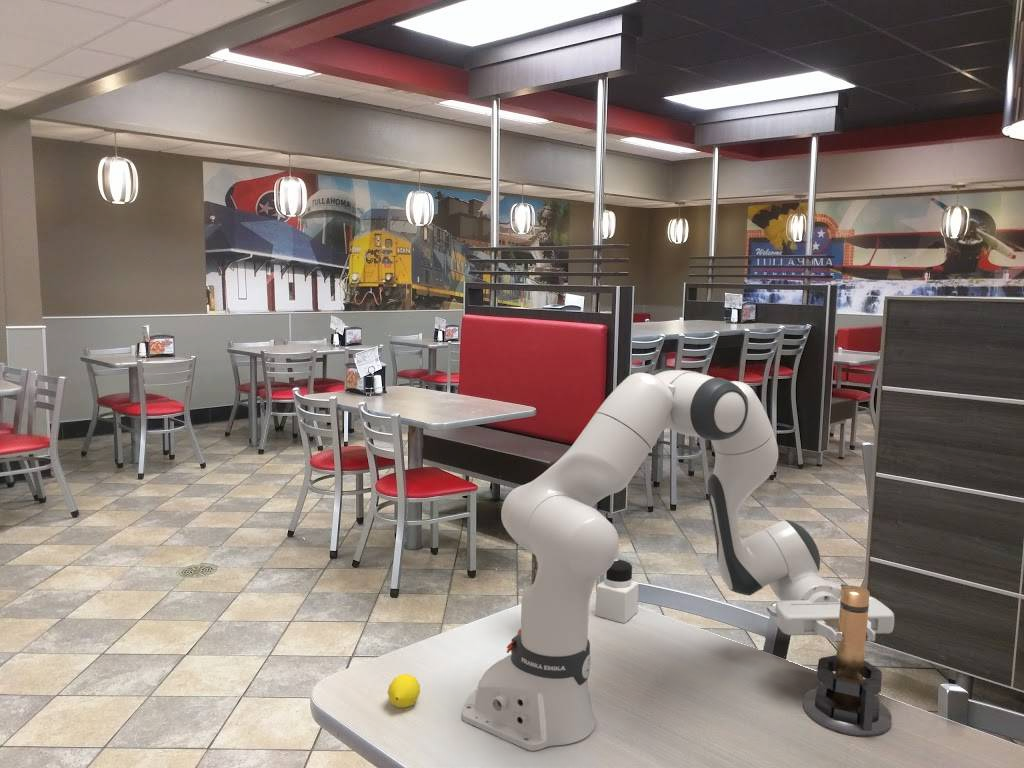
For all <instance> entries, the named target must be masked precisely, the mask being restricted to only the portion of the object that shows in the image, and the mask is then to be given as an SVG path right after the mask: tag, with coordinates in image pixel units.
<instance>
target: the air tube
mask: <svg viewBox="0 0 1024 768" xmlns="http://www.w3.org/2000/svg"><path fill="white" fill-rule="evenodd" d="M869 596H871V595H870V591H869V590H868V589H867V588H864V587H861V586H858V585H848V586H843V587H842V588H841V599H840V613H839V627H838V629H839V631H841V632H842V642H836V654H835V655H836V669H835V671H834V673H835V674H836V675H838V676H839V677H843V678H848V679H853V680H857V681H858V680H863V679H864V677H863V673H864V661H866V660H865V658H866V645H867V641H866V634H867V621H868V609H869ZM833 699H834V701H835V702H836V703H837V704H838V705H842V706H846V707H850V708H858V707H860V706H861V696H860V695H859V697H857V696H853V695H848V694H844V693H839V692H835V690H834V697H833Z"/></svg>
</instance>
